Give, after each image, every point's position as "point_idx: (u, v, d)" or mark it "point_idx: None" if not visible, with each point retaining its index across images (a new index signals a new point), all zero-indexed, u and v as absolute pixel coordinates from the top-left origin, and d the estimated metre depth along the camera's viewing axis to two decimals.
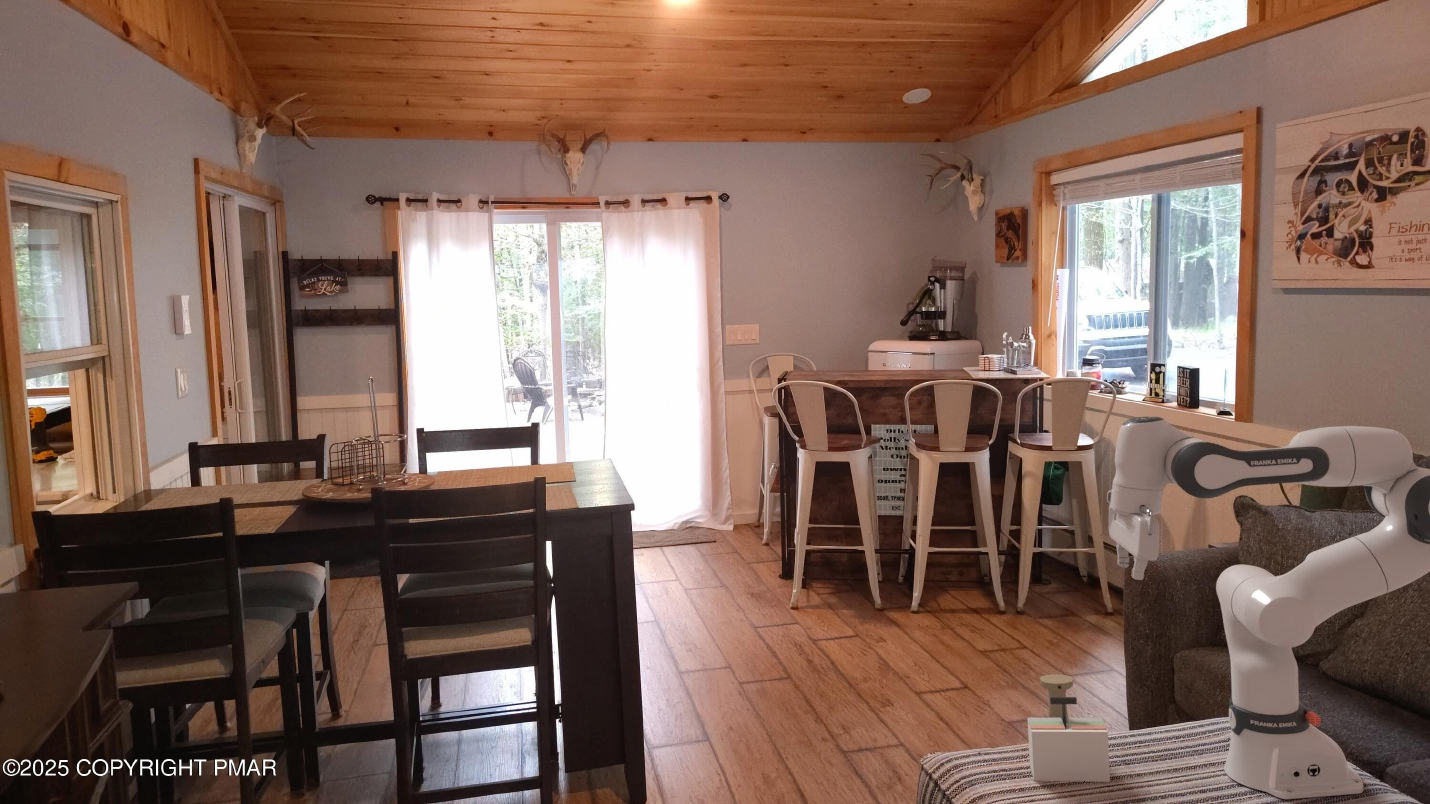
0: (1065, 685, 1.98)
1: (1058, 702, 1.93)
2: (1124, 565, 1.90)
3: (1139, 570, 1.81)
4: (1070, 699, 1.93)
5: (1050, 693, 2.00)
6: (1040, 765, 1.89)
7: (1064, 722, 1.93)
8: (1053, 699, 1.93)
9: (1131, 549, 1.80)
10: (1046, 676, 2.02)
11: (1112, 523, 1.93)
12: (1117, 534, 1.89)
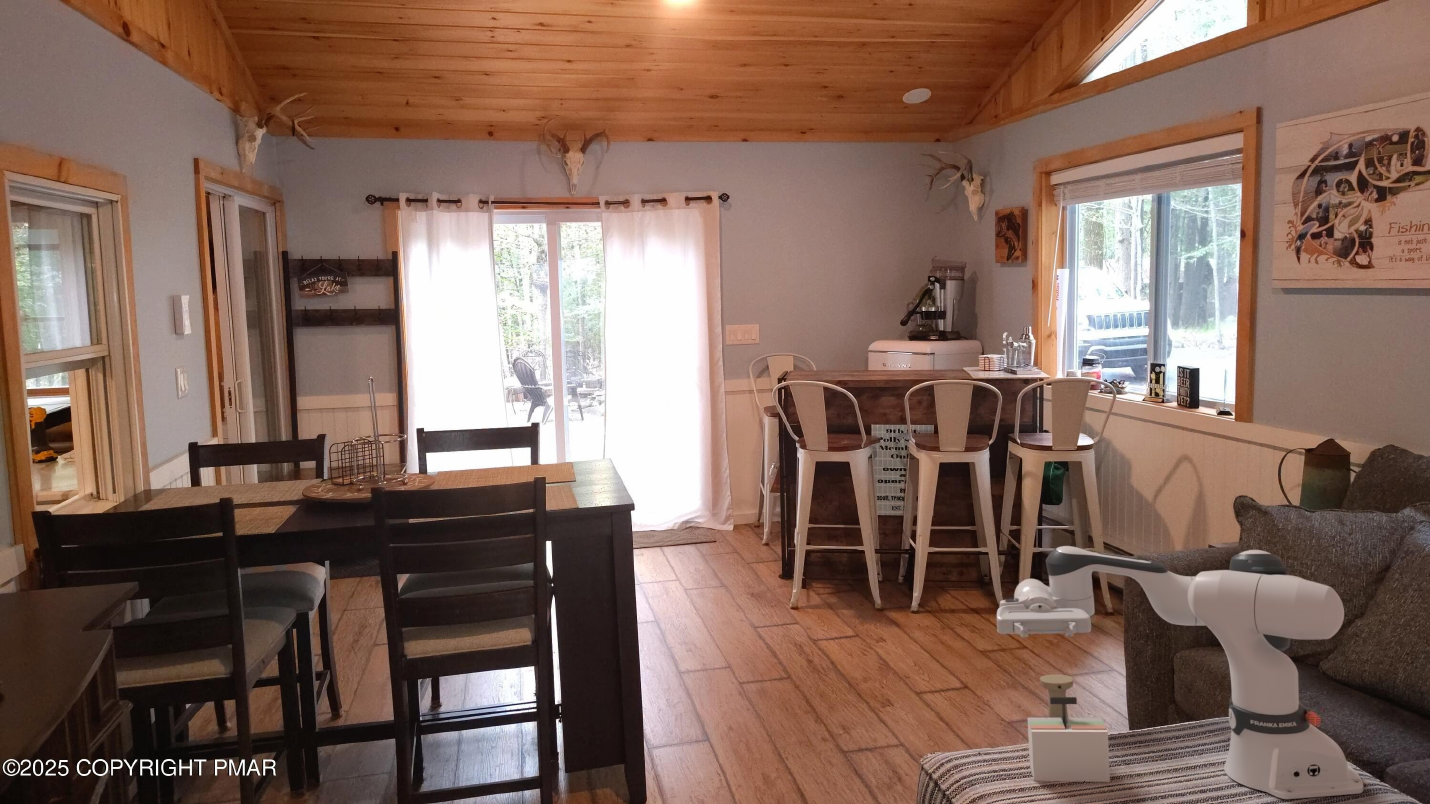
0: (1065, 685, 1.99)
1: (1058, 702, 1.93)
2: (1027, 633, 2.14)
3: (1072, 630, 2.13)
4: (1070, 699, 1.93)
5: (1050, 693, 2.00)
6: (1040, 765, 1.89)
7: (1064, 722, 1.93)
8: (1053, 699, 1.93)
9: (1070, 616, 2.17)
10: (1046, 676, 2.03)
11: (1006, 614, 2.22)
12: (1026, 616, 2.19)
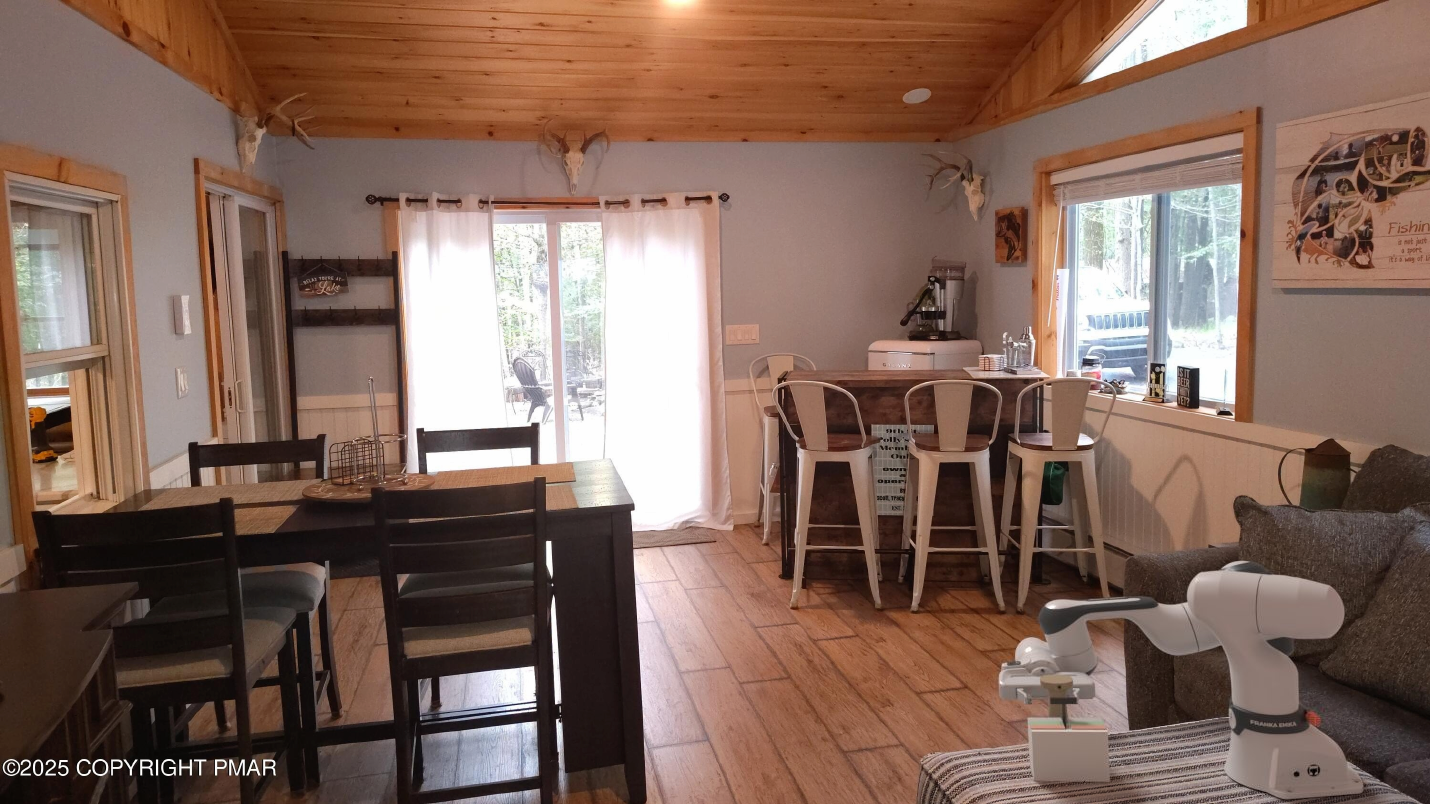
0: (1065, 685, 1.98)
1: (1058, 702, 1.93)
2: None
3: (1076, 697, 2.09)
4: (1070, 699, 1.93)
5: (1050, 693, 2.00)
6: (1040, 765, 1.89)
7: (1064, 722, 1.93)
8: (1053, 699, 1.93)
9: (1074, 682, 2.12)
10: (1046, 676, 2.02)
11: (1008, 679, 2.17)
12: (1029, 681, 2.15)
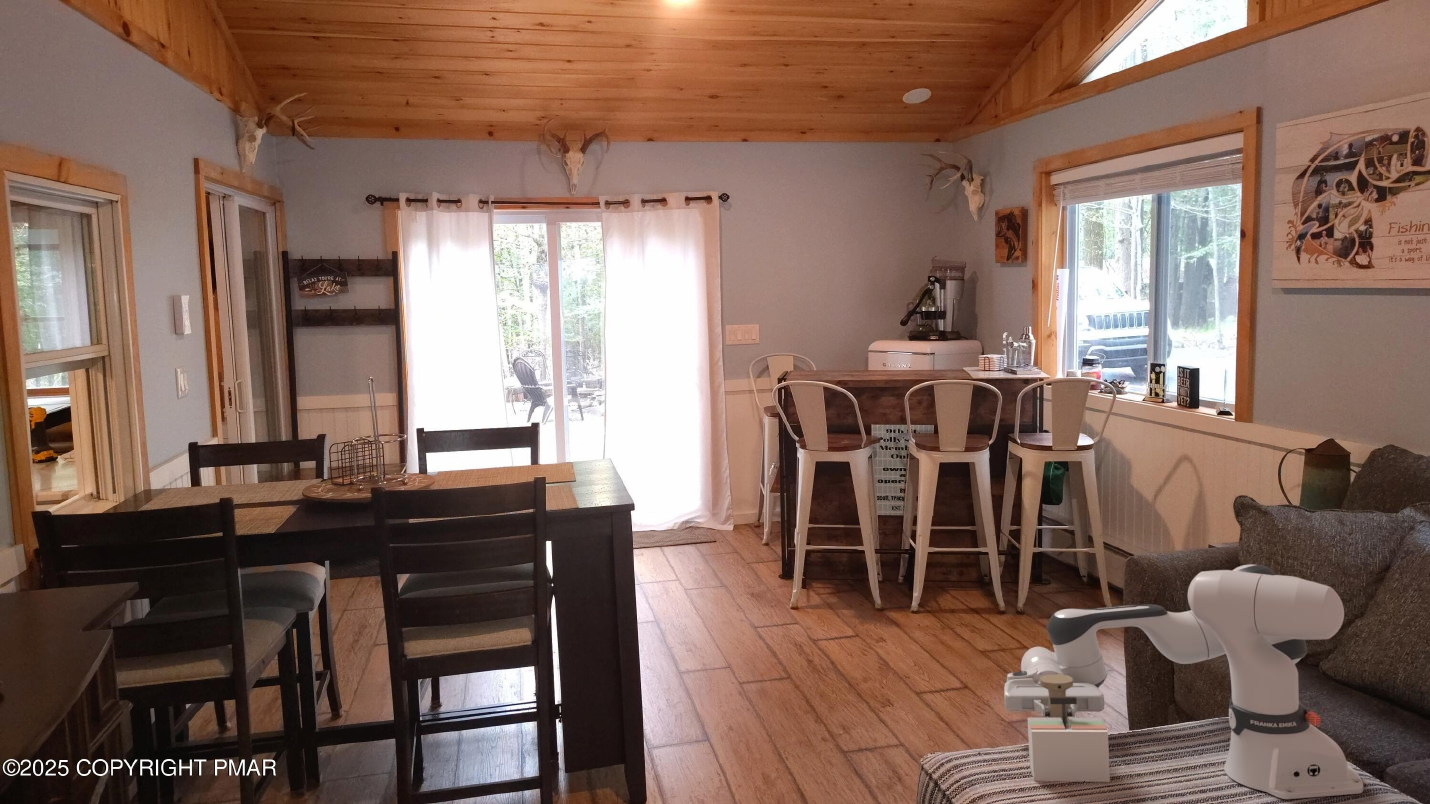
0: (1065, 685, 1.99)
1: (1058, 702, 1.93)
2: None
3: None
4: (1070, 699, 1.93)
5: (1050, 693, 2.00)
6: (1040, 765, 1.89)
7: (1064, 722, 1.93)
8: (1053, 699, 1.93)
9: (1082, 693, 2.05)
10: (1046, 676, 2.03)
11: (1014, 689, 2.10)
12: (1036, 692, 2.07)
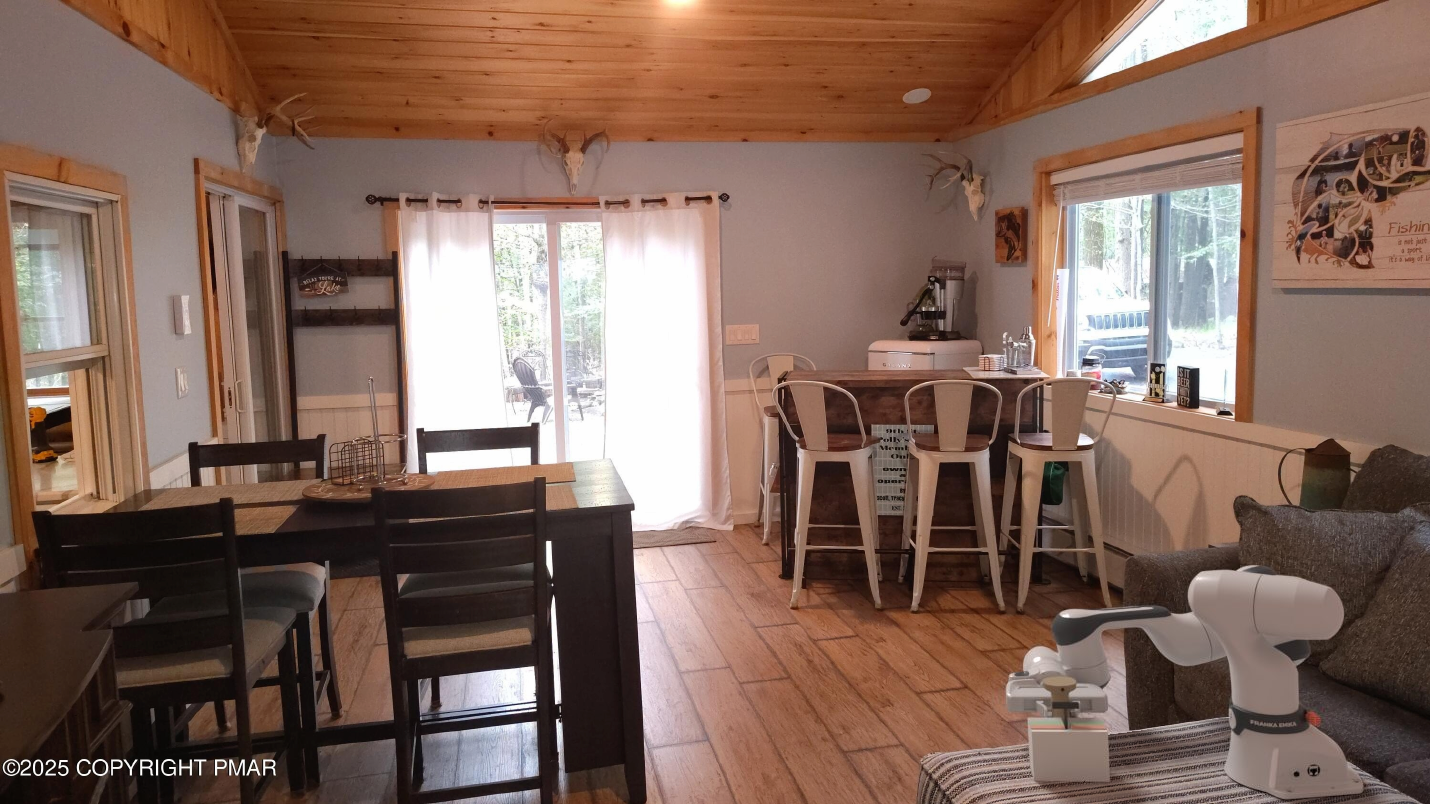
0: (1068, 688, 1.95)
1: (1060, 707, 1.91)
2: (1051, 714, 1.97)
3: None
4: (1072, 704, 1.91)
5: (1053, 696, 1.97)
6: (1040, 765, 1.89)
7: (1066, 727, 1.91)
8: (1055, 704, 1.91)
9: (1086, 694, 2.01)
10: (1049, 678, 1.99)
11: (1016, 690, 2.06)
12: (1038, 693, 2.04)
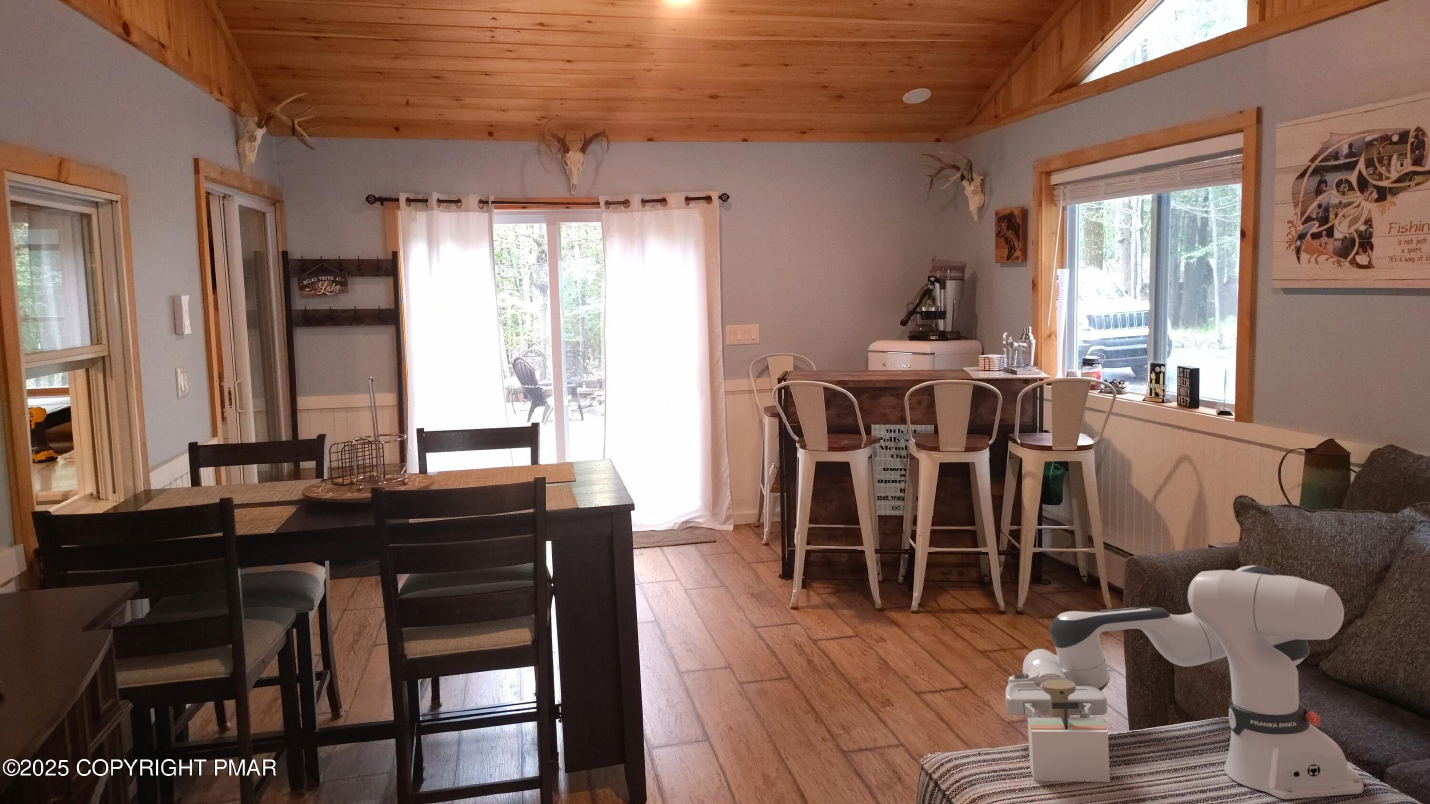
0: (1068, 691, 1.96)
1: (1060, 707, 1.91)
2: (1039, 716, 1.99)
3: (1087, 713, 1.99)
4: (1072, 704, 1.91)
5: (1052, 698, 1.98)
6: (1040, 765, 1.89)
7: (1066, 727, 1.91)
8: (1055, 704, 1.91)
9: (1085, 697, 2.02)
10: (1048, 681, 2.00)
11: (1015, 693, 2.07)
12: (1038, 695, 2.05)
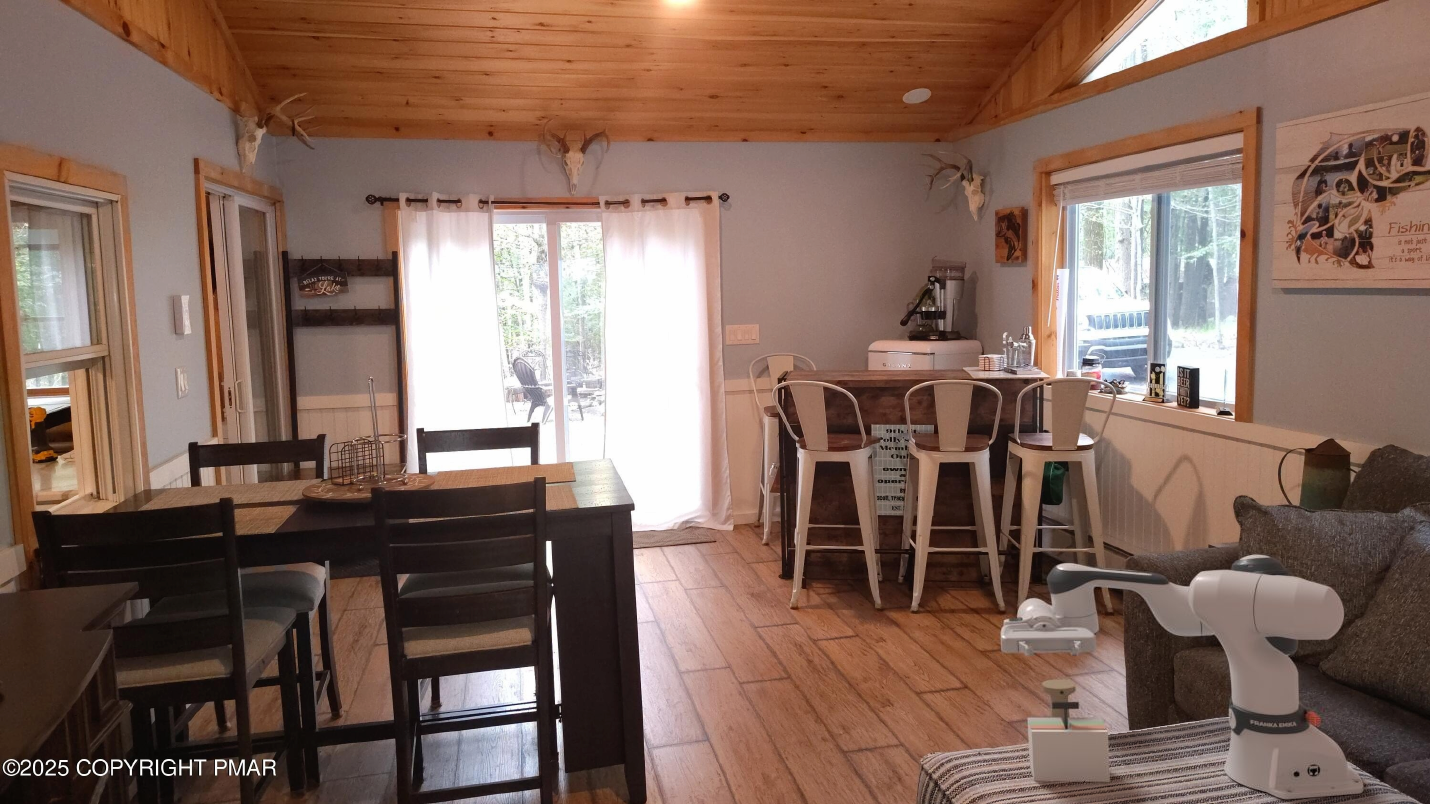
0: (1068, 691, 1.96)
1: (1060, 707, 1.91)
2: (1032, 652, 2.11)
3: None
4: (1072, 704, 1.91)
5: (1052, 698, 1.98)
6: (1040, 765, 1.89)
7: (1066, 727, 1.91)
8: (1055, 704, 1.91)
9: (1075, 635, 2.15)
10: (1048, 681, 2.00)
11: (1010, 633, 2.19)
12: (1031, 635, 2.17)
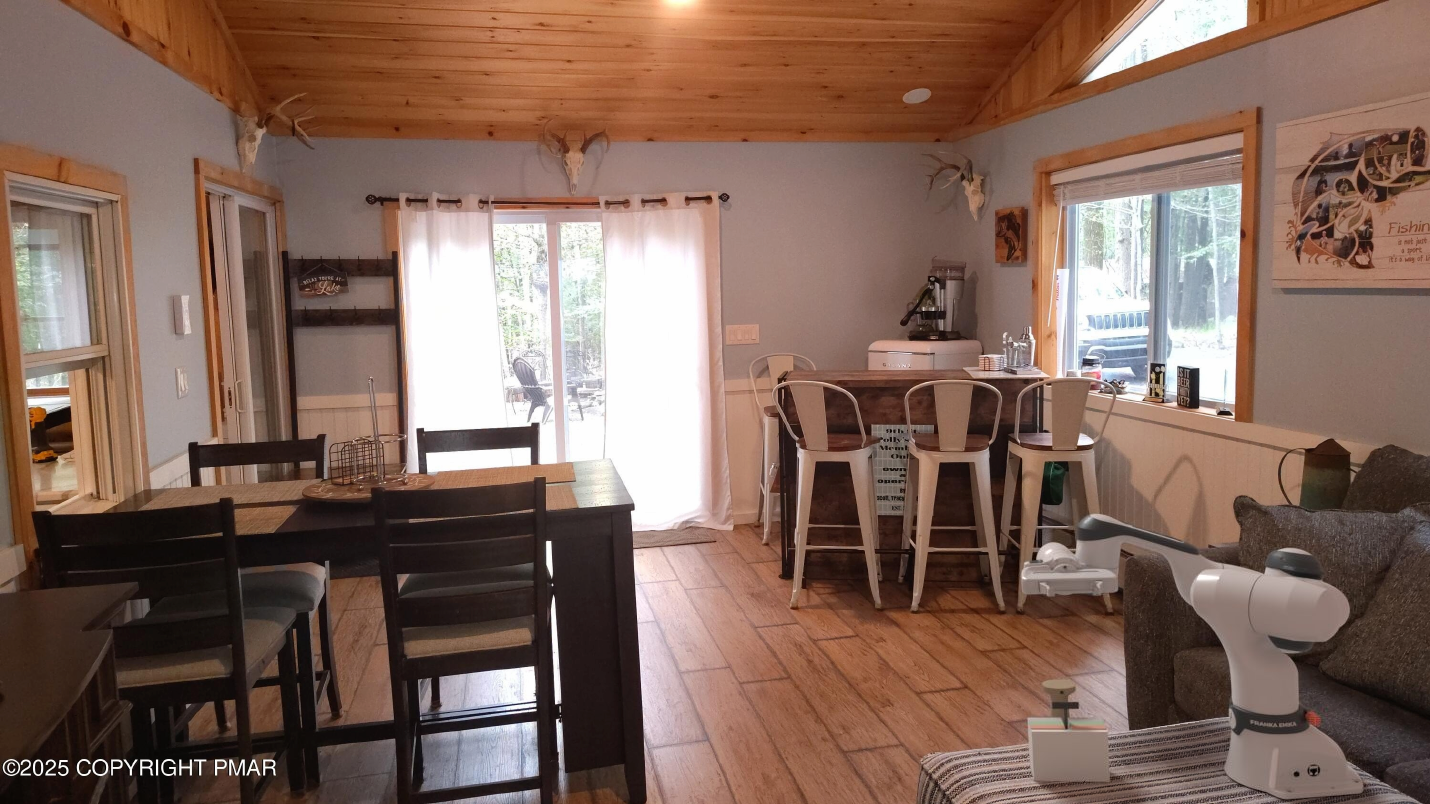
0: (1068, 691, 1.96)
1: (1060, 707, 1.91)
2: (1054, 592, 2.10)
3: None
4: (1072, 704, 1.91)
5: (1052, 698, 1.98)
6: (1040, 765, 1.89)
7: (1066, 727, 1.91)
8: (1055, 704, 1.91)
9: (1097, 575, 2.13)
10: (1048, 681, 2.00)
11: (1031, 574, 2.18)
12: (1052, 576, 2.16)
